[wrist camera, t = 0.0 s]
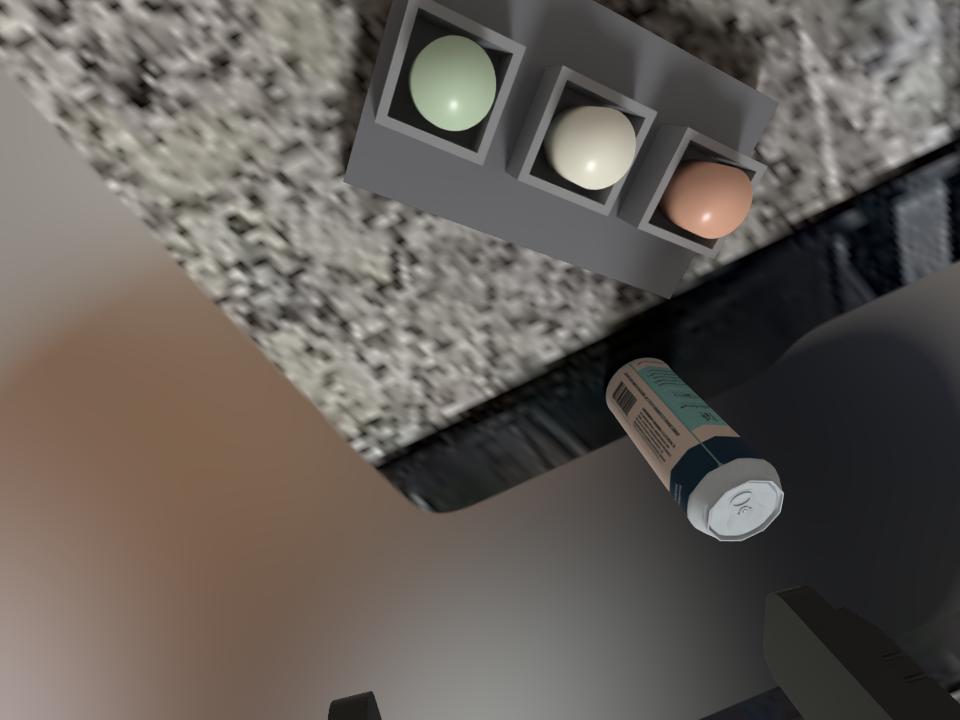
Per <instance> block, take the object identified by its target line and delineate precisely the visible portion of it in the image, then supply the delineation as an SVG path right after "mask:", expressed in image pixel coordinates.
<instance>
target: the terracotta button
mask: <svg viewBox="0 0 960 720" xmlns="http://www.w3.org/2000/svg"><path fill="white" fill-rule="evenodd" d="M752 197H753V190H752V184H751V182H750V179H749V178H748V176H747V175H746V174H745V173H744V172H743V171H741V170H740V169H737V168H734V167H730V166H726V165H721V164H717V163H713V162H708V161H704V160H700V159H689V160H686V161H683V162H681V163H679V164H678V165H677V167H676V169H675V171H674V173H673V175H672V177H671V179H670V181H669V183H668V185H667V187H666V189H665V191H664V193H663V195H662V197H661V199H660V201H659V203H658V205H659V209H660V212H661V214H662V215H663V217H664V218H665V219H666V220H668V221H669V222H671V223H673V224H675V225H677V226H679V227H682V228H684V229H686V230H688V231H690V232H692V233H694V234H697V235H699V236H701V237H704V238H708V239H714V238H719V237H722V236H725V235H727V234H729V233H730V232H732V231H733V230H734V229H736V228H737V227H738V226H739V225H740V224H741V223H742V221H743V220H744V219H745V217H746V215H747V213H748V211H749V209H750V206H751V203H752Z"/></svg>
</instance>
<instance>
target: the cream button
mask: <svg viewBox="0 0 960 720" xmlns="http://www.w3.org/2000/svg"><path fill="white" fill-rule="evenodd" d="M635 150H636V137H635V132H634V129H633V127H632V124H631V123H630V121H629V120H628V118H627V117H626V116H625V115H623V114H622V113H621V112H619V111H617V110H615V109H612V108H606V107H596V106H586V105H576V106H572V107H569V108H566V109H565V110H563V111H562V112H560V113H559V114H558V115H557V116H556V117H555V118H554V119H553V120H552V122H551V123H550V125H549V127H548V129H547V132H546V135H545V139H544V153H545V157H546V160H547V163H548V164H549V166H550V168H551V169H552V170H553V171H554V172H555V173H556V174H558V175H559V176H561V177H563V178H565V179H567V180H569V181H571V182H573V183H575V184H577V185H579V186H581V187H583V188H586V189H591V190H597V189H603V188H606V187H609V186H611V185H613V184H614V183H616V182H617V181H619V180H620V179H621V178H622V177H623V176H624V174H625V173H626V172H627V170H628V169H629V167H630V165H631V163H632V161H633V158H634V155H635Z"/></svg>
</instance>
